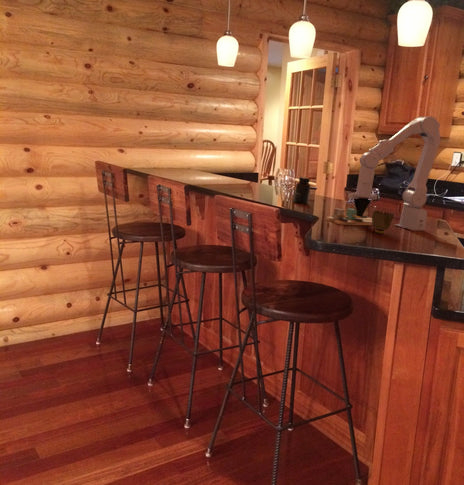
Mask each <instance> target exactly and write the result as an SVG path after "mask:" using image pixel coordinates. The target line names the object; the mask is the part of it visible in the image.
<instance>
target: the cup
mask: <svg viewBox="0 0 464 485" xmlns="http://www.w3.org/2000/svg"><path fill="white" fill-rule="evenodd" d="M394 216H395V214H394V213H392V212H386V211H384V212H383V210H381V211H379V210H374V211H372V217H371V218H372V225H371V226H372V227H373V229H374V233H375V234H377V235H382V236H383V235H385V233H386V231H388V229H389V228H390V227H391V225H392V222H393V218H394Z"/></svg>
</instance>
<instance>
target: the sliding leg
mask: <svg viewBox="0 0 464 485" xmlns="http://www.w3.org/2000/svg"><path fill="white" fill-rule="evenodd" d="M345 213H346V214H345V216H348V218H346V219H350V220H355V218H356V217H357V218H360V216H357V215H356V213H357V210H356V208H355V209H354V208H346V212H345Z"/></svg>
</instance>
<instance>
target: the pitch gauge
mask: <svg viewBox="0 0 464 485" xmlns="http://www.w3.org/2000/svg"><path fill="white" fill-rule="evenodd" d="M333 210H334V211H333V215H331V216H325V217H324V220H325V221H328V222H332V223H335V224H338V225H340V226H373V225H372V217H369V216H368V215H363V216H362V217H360V218H357V217H356V218H355V220H350V219H346V218H348V216H346V215H344V213H345V209H342V208H340V207H339V208H338V207H337V208H334V209H333Z"/></svg>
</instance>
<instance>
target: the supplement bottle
mask: <svg viewBox="0 0 464 485" xmlns="http://www.w3.org/2000/svg"><path fill="white" fill-rule="evenodd" d="M310 180H311V179H310V178H309V177H303V176H299V179H298V181H299V182H297V183H296V184H295V189H294V196H293V202H294V203H295V204H299V205H308V203H309V199H310V193H311V192H310V191H311V188H312V187H311V184H310Z"/></svg>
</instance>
